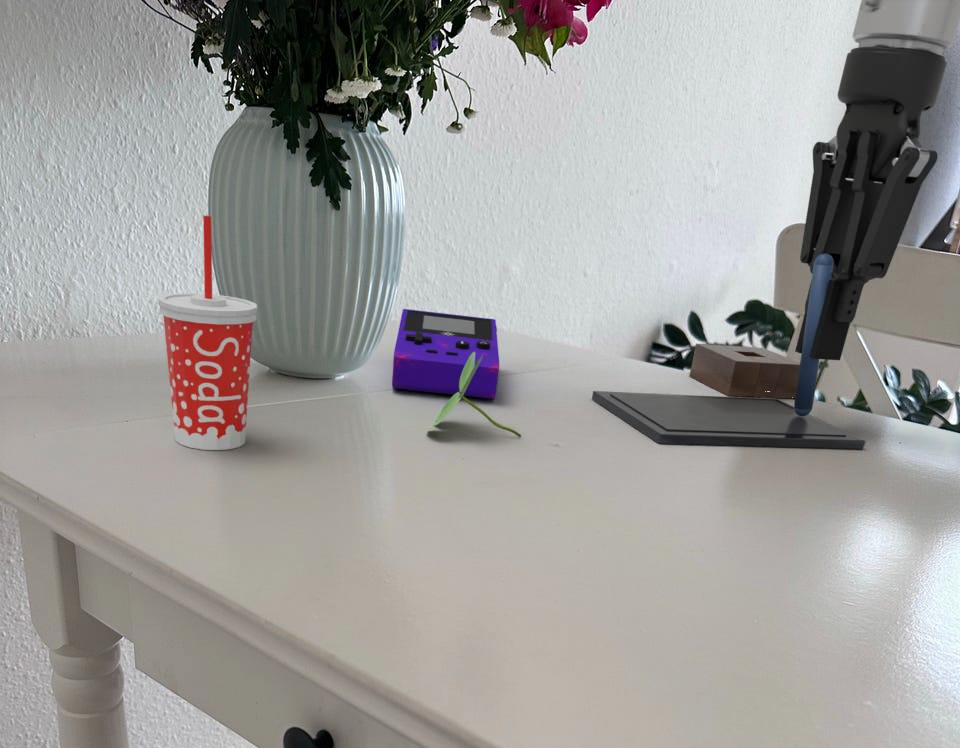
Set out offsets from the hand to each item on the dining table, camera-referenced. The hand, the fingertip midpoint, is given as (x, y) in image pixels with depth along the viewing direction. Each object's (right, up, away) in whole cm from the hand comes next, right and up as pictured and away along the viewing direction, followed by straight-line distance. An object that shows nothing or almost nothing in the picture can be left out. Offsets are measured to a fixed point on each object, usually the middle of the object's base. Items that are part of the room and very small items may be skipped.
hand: (817, 355), depth 86 cm
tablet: (-8, -6, 0) cm, 10 cm away
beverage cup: (-48, -12, -21) cm, 54 cm away
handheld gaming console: (-34, -1, +3) cm, 34 cm away
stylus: (-1, -5, +2) cm, 5 cm away
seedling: (-31, -10, -13) cm, 35 cm away
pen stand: (-2, +1, +16) cm, 17 cm away
